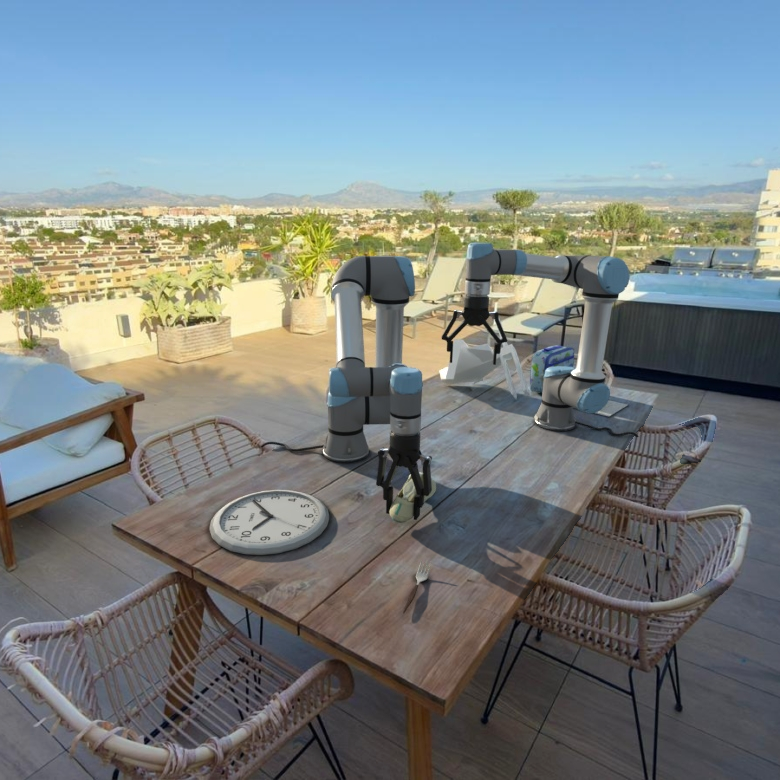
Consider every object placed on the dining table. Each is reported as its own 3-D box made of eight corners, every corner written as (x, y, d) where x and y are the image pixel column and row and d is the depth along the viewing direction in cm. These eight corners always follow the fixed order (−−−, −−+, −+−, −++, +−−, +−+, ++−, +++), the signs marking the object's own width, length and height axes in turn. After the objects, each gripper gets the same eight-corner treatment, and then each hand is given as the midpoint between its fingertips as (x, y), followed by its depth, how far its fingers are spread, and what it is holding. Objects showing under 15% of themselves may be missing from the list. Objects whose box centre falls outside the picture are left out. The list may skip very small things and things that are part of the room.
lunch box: (546, 398, 236) (551, 353, 229) (525, 393, 243) (529, 349, 237) (573, 387, 253) (579, 344, 247) (553, 382, 260) (558, 341, 254)
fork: (396, 613, 103) (397, 605, 102) (420, 566, 117) (420, 559, 117) (409, 617, 102) (409, 608, 102) (431, 569, 116) (432, 561, 116)
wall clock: (327, 546, 121) (194, 551, 119) (327, 552, 122) (195, 557, 119) (330, 485, 150) (223, 488, 147) (330, 490, 150) (224, 493, 148)
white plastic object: (461, 429, 252) (437, 405, 227) (444, 352, 274) (420, 323, 250) (535, 404, 240) (518, 377, 215) (510, 326, 262) (492, 293, 237)
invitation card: (608, 416, 214) (573, 407, 224) (608, 416, 214) (573, 408, 224) (628, 404, 229) (594, 396, 238) (628, 405, 229) (594, 397, 238)
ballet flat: (441, 484, 151) (442, 459, 149) (416, 528, 129) (417, 500, 127) (414, 480, 154) (414, 455, 152) (385, 522, 132) (385, 494, 130)
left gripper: (362, 429, 128) (361, 513, 135) (439, 442, 121) (435, 530, 128) (374, 420, 134) (373, 499, 141) (448, 431, 127) (444, 515, 134)
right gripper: (435, 295, 157) (432, 363, 163) (520, 298, 154) (513, 367, 161) (436, 292, 164) (433, 358, 171) (517, 295, 162) (511, 361, 168)
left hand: (402, 514), depth 134 cm, fingers closed on ballet flat, 7 cm apart
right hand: (472, 362), depth 166 cm, fingers open, 13 cm apart
